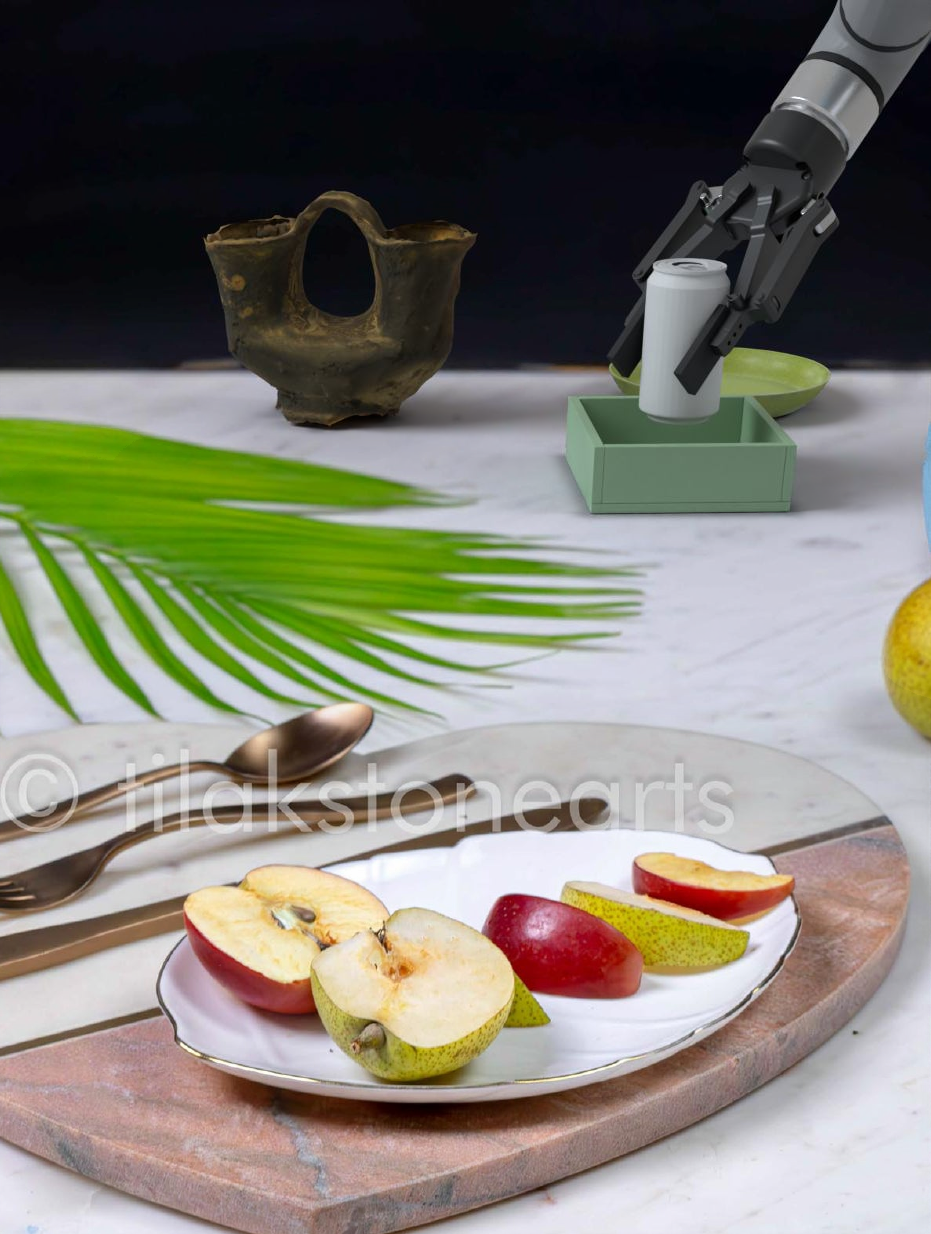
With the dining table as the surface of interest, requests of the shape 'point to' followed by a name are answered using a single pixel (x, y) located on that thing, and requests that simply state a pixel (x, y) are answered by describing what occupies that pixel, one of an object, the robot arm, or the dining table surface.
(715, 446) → the bin
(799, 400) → the saucer
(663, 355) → the beverage can
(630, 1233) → the dining table surface
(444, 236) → the pottery vessel
